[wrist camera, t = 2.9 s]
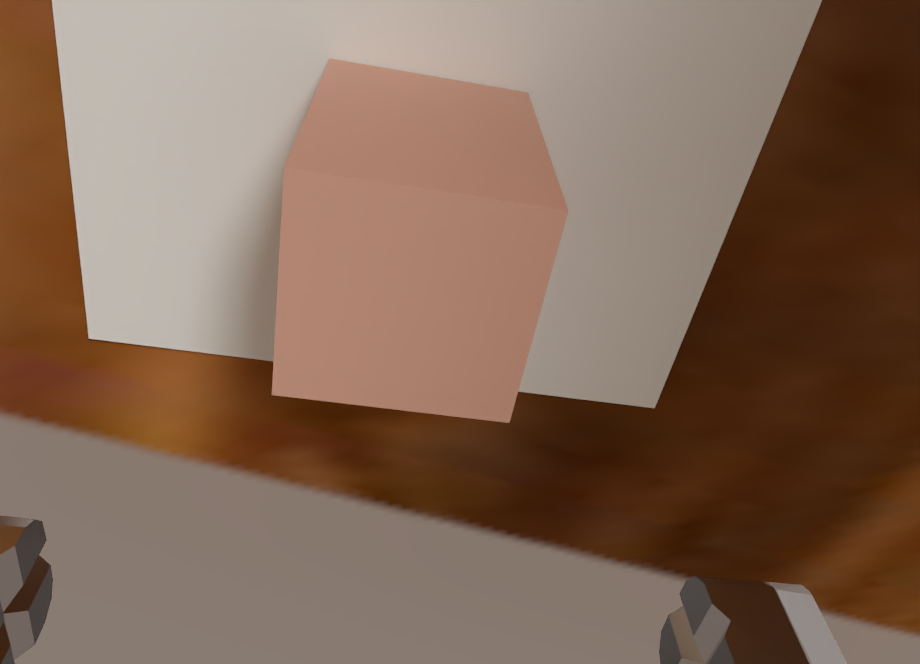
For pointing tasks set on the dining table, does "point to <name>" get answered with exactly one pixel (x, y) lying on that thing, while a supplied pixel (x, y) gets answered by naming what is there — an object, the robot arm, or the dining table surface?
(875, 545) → the dining table surface
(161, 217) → the mat
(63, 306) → the dining table surface
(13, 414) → the dining table surface
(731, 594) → the robot arm
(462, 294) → the terracotta block
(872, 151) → the dining table surface
